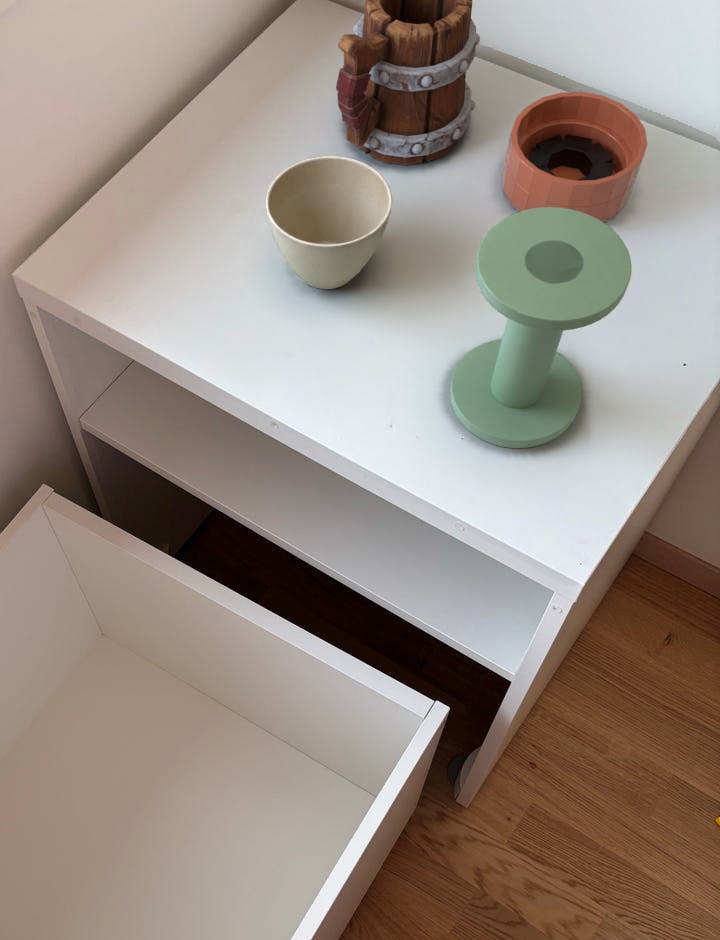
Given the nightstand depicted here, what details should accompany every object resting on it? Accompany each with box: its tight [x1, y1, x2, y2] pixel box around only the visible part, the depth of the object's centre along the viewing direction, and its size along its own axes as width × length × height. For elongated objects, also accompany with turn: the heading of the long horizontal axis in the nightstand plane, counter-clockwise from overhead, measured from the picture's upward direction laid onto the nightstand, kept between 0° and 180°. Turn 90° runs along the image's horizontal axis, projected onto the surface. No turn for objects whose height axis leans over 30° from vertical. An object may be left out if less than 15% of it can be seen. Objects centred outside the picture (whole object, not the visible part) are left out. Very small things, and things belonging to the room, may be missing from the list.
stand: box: [449, 207, 632, 449], centre depth 72 cm, size 10×10×14 cm
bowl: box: [501, 91, 648, 223], centre depth 85 cm, size 11×11×5 cm
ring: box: [528, 134, 615, 181], centre depth 86 cm, size 7×7×2 cm
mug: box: [335, 0, 481, 166], centre depth 86 cm, size 12×14×15 cm
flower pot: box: [265, 155, 393, 290], centre depth 82 cm, size 10×10×7 cm
